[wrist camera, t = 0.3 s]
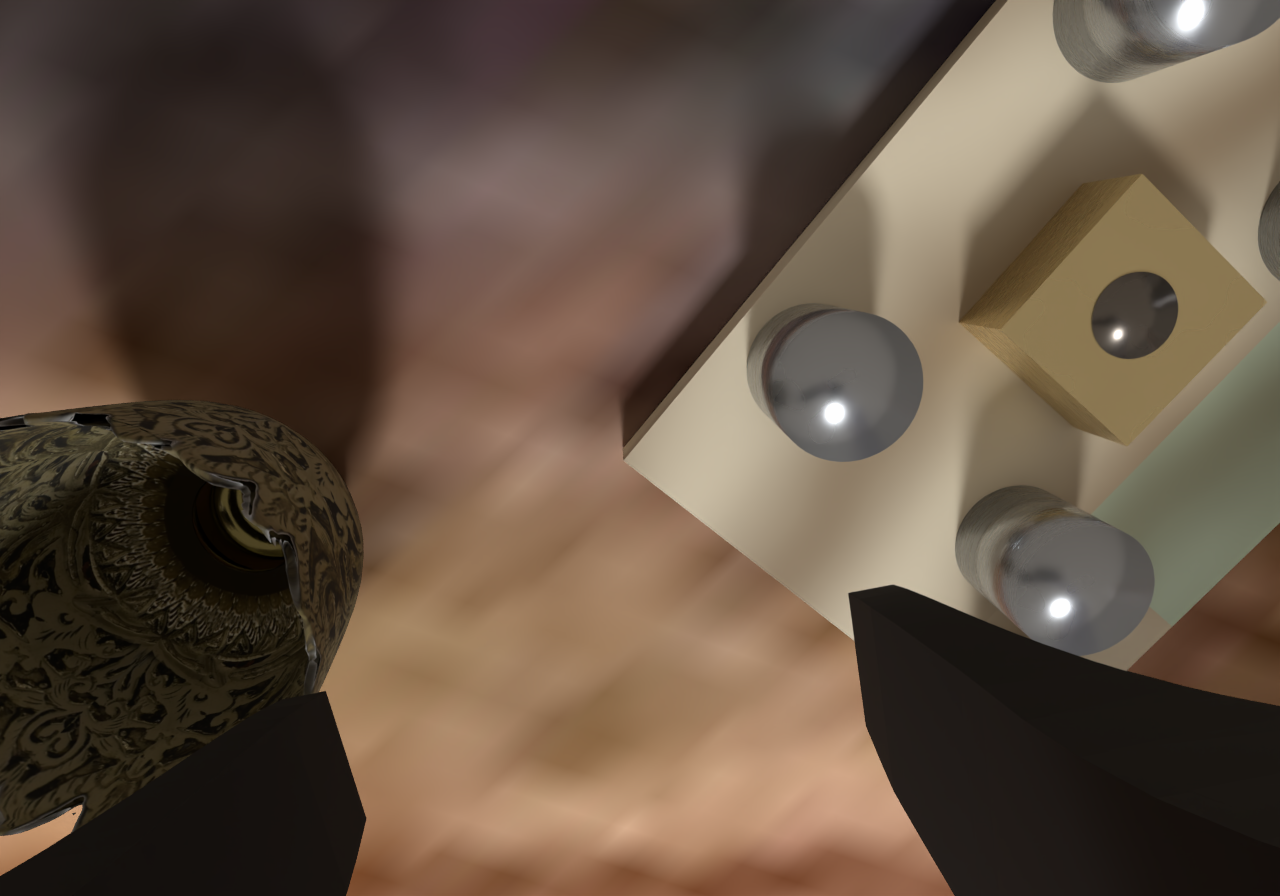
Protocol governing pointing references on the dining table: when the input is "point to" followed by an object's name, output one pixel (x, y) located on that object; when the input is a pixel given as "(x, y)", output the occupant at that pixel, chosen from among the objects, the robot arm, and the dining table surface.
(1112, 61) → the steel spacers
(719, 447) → the birch board
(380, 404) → the dining table surface
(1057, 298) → the brass nut
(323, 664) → the cup
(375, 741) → the dining table surface
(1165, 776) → the robot arm
